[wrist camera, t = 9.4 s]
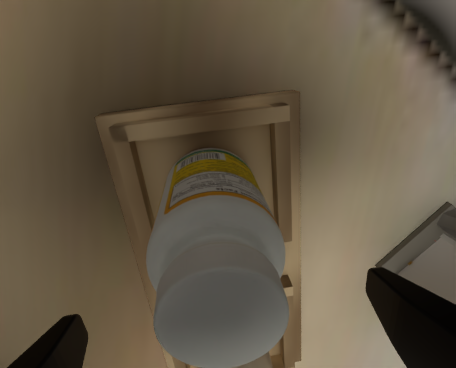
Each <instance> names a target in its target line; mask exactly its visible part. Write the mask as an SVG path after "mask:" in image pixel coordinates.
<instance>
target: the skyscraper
mask: <svg viewBox="0 0 456 368" xmlns="http://www.w3.org/2000/svg"><path fill="white" fill-rule="evenodd" d="M375 266H376V267H384V268H386V269H388V270H390V271H392V272H394V273H396V274H398V275H399V276H401V277H403V278H405V279H407V280H409V281H411V282H413V283H415V284H417V285H419V286H421V287H423V288H425V289H427V290H429V291H431V292H433V293H435V294H436V295H438V296H440V297H442V298H444V299H446V300H448V301H450V302H452V303H454V304H456V208H455V207H454V206H453V205H452V204H450V203H448V202H447V203H445V204H444V205H443V206H442V207H441V208H440V209H439V210H437V211H436V212H435V213H434V214H433V215H432V216H431V217H430V218H428V219H427V220H426V221H425V222H424V223H423V224H422V225H421V226H419V227H418V228H417V229H416V230H415V231H414V232H413V233H411V234H410V235H409V236H408V237H407V238H406V239H405V240H404V241H402V242H401V243H400V244H399V245H398V246H397V247H396V248H395V249H393V250H392V251H391V252H390V253H389V254H388V255H387V256H385V257H384V258H383V259H382V260H381V261H380V262H379V263H378V264H376V265H375Z"/></svg>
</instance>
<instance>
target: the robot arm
mask: <svg viewBox="0 0 456 368" xmlns="http://www.w3.org/2000/svg"><path fill="white" fill-rule="evenodd" d="M366 293H367V296H368V298H369V300H370V302H371V304H372V306H373V308H374V310H375V312H376V314H377V316H378V318H379V320H380V322H381V324H382V326H383V328H384V330H385V332H386V333H387V335H388V337H389V339H390V341H391V343H392V345H393V346H394V348H395V350H396V351H397V353H398V354H399V356H400V358H401V359H402V361H403V362H404V364H405V365H406V367H407V368H456V304H454V303H452V302H450V301H448V300H446V299H444V298H442V297H440V296H438V295H436V294H435V293H433V292H431V291H429V290H427V289H425V288H423V287H421V286H419V285H417V284H415V283H413V282H411V281H409V280H407V279H405V278H403V277H401V276H399V275H398V274H396V273H394V272H392V271H390V270H388V269H386V268H384V267H375V268H370V269H369V270H368V273H367V281H366ZM87 343H88V332H87V330H86V328H85V325H84V323H83V321H82V318H81V316H80V315H78V314H73V315H67V316H64V317H62V318H61V319H60V320H59V321H58V322H57V323H56V324H54V325H53V326H52V327H51V328H50V329H49V330H48V331H47V332H46V333H45V334H44V335H42V336H41V337H40V338H39V339H38V340H37V341H36V342H35V343H34V344H33V345H31V346H30V347H29V348H28V349H27V350H26V351H25V352H24V353H23V354H22V355H20V356H19V357H18V358H17V359H16V360H15V361H14V362H13V363H12V364H11V365H9V366H8V367H7V368H82V366H83V361H84V356H85V352H86V347H87Z"/></svg>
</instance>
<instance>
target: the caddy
mask: <svg viewBox="0 0 456 368" xmlns="http://www.w3.org/2000/svg"><path fill="white" fill-rule="evenodd" d="M94 118H95V121H96V125H97V128H98V131H99V135H100V138H101V142H102V145H103V149H104V152H105V155H106V159H107V162H108V166H109V169H110V172H111V176H112V179H113V183H114V186H115V190H116V193H117V196H118V200H119V203H120V207H121V210H122V213H123V217H124V220H125V224H126V227H127V230H128V234H129V237H130V241H131V244H132V248H133V251H134V254H135V258H136V261H137V265H138V268H139V271H140V275H141V278H142V282H143V285H144V288H145V292H146V295H147V299H148V302H149V306H150V309H151V312H152V316H153V319H154V310H155V304H156V290H155V289H154V287H153V286H152V283H151V281H150V279H149V275H148V271H147V265H146V253H147V246H148V242H149V239H150V235H151V232H152V228H153V225H154V221H155V218H156V215H157V211H158V207H159V204H160V200H161V197H162V193H163V189H164V186H165V182H166V179H167V176H168V174H169V172H170V170H171V168H172V167H173V166H174V164H175V163H176V162H177V161H178V160H179V159H180V158H182V157H183V156H184V155H186V154H188V153H190V152H192V151H194V150H198V149H202V148H219V149H224V150H227V151H230V152H232V153H234V154H235V155H237V156H238V157H240V158H241V159H242V160H243V161H244V162H245V163H246V164H247V165H248V167H249V168H250V170H251V172H252V174H253V175H254V178H255V180H256V182H257V184H258V186H259V188H260V190H261V192H262V194H263V196H264V198H265V200H266V202H267V204H268V206H269V208H270V210H271V212H272V214H273V216H274V218H275V220H276V222H277V224H278V227H279V229H280V231H281V234H282V236H283V240H284V244H285V266H284V270H283V273H282V276H281V278H280V279H281V283H282V286H283V288H284V291H285V294H286V297H287V301H288V305H289V320H288V325H287V328H286V330H285V333H284V334H283V336H282V337H281V339H280V340H279V341H278V343H277V344H276V345H275V346H274V347H273V348H272V349H271V350H270V351H269V354H270V358H271V362H272V366H273V368H295V362H297V361H301V222H300V92H299V91H295V90H289V91H281V92H273V93H265V94H257V95H248V96H240V97H232V98H224V99H216V100H208V101H200V102H192V103H184V104H175V105H167V106H159V107H151V108H143V109H135V110H127V111H119V112H110V113H102V114H100V115H98V116H96V117H94ZM162 350H163V353H164V357H165V360H166V364H167V367H168V368H201V367H196V366H192V365H189V364H186V363H184V362H182V361H180V360H178V359H176V358H175V357H173V356H171V355H170V354H169V353H168V352H167V351H166V350H165V349H164V348H163V347H162Z"/></svg>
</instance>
